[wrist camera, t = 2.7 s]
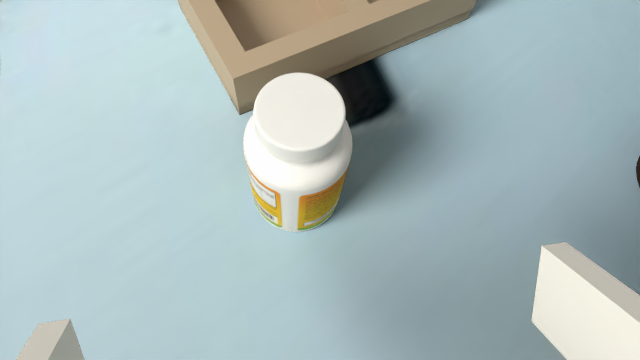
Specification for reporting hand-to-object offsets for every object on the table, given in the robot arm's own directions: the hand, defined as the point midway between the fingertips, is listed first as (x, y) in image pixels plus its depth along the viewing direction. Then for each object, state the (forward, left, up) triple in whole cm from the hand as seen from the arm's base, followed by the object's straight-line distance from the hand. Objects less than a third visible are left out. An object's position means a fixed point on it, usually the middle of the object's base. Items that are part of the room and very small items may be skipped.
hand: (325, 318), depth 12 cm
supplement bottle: (-4, -8, -13) cm, 16 cm away
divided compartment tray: (-13, -20, -13) cm, 27 cm away
